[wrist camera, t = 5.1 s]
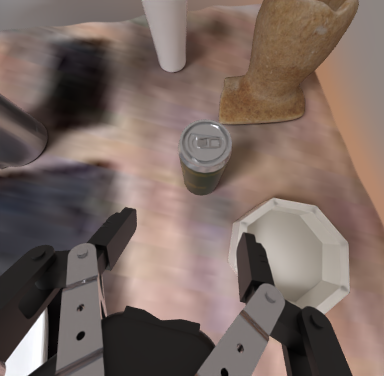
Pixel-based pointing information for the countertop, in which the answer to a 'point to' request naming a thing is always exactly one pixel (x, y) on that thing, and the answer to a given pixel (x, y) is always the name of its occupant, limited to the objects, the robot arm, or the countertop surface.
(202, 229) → the countertop surface
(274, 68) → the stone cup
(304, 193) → the countertop surface
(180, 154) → the beer can
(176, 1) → the drinking glass
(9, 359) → the square plate
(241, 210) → the countertop surface
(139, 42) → the countertop surface
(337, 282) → the cream bowl
